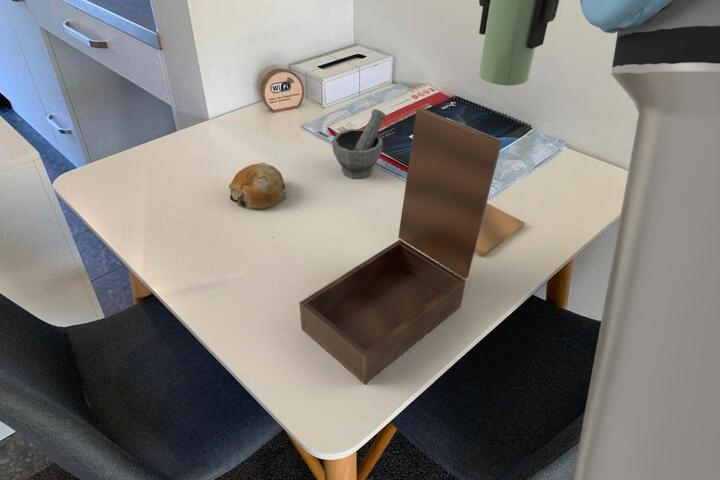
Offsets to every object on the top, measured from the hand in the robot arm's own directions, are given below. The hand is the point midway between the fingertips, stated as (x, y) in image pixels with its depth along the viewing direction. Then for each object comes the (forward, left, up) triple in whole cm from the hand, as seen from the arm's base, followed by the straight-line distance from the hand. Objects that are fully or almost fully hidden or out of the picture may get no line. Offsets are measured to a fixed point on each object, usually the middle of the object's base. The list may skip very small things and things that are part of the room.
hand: (510, 38), depth 71 cm
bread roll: (-9, +39, -32) cm, 51 cm away
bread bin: (-27, +6, -32) cm, 42 cm away
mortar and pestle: (+8, +26, -32) cm, 42 cm away
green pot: (0, 0, -5) cm, 5 cm away
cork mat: (0, 0, -32) cm, 32 cm away
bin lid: (-17, +2, -16) cm, 24 cm away
